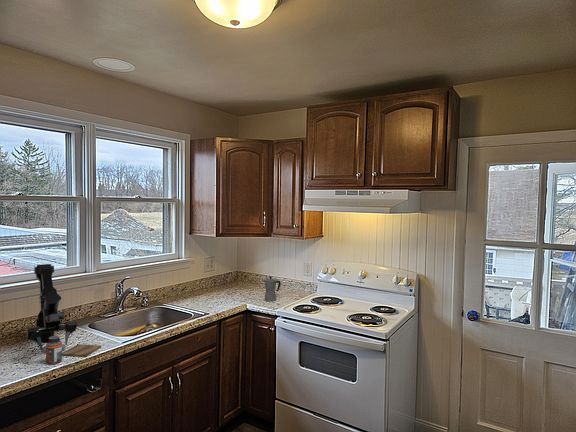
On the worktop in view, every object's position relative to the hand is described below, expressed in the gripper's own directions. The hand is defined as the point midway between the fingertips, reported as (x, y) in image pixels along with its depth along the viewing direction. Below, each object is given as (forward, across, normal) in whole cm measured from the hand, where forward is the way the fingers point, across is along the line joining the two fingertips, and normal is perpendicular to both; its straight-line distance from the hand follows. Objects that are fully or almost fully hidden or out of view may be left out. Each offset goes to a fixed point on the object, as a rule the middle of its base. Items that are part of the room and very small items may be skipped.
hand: (54, 346), depth 164 cm
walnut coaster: (0, +12, +10) cm, 16 cm away
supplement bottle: (+5, 0, +6) cm, 7 cm away
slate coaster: (-8, +2, +18) cm, 20 cm away
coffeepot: (-19, +143, +29) cm, 147 cm away
